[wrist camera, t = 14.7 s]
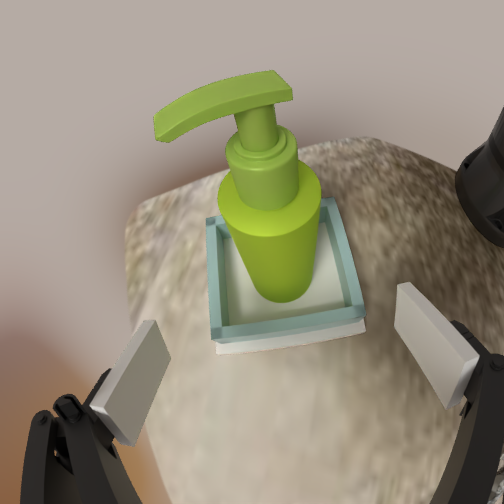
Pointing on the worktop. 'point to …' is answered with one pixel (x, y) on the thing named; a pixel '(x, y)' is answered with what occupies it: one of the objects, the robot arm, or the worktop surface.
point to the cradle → (283, 314)
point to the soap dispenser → (258, 180)
